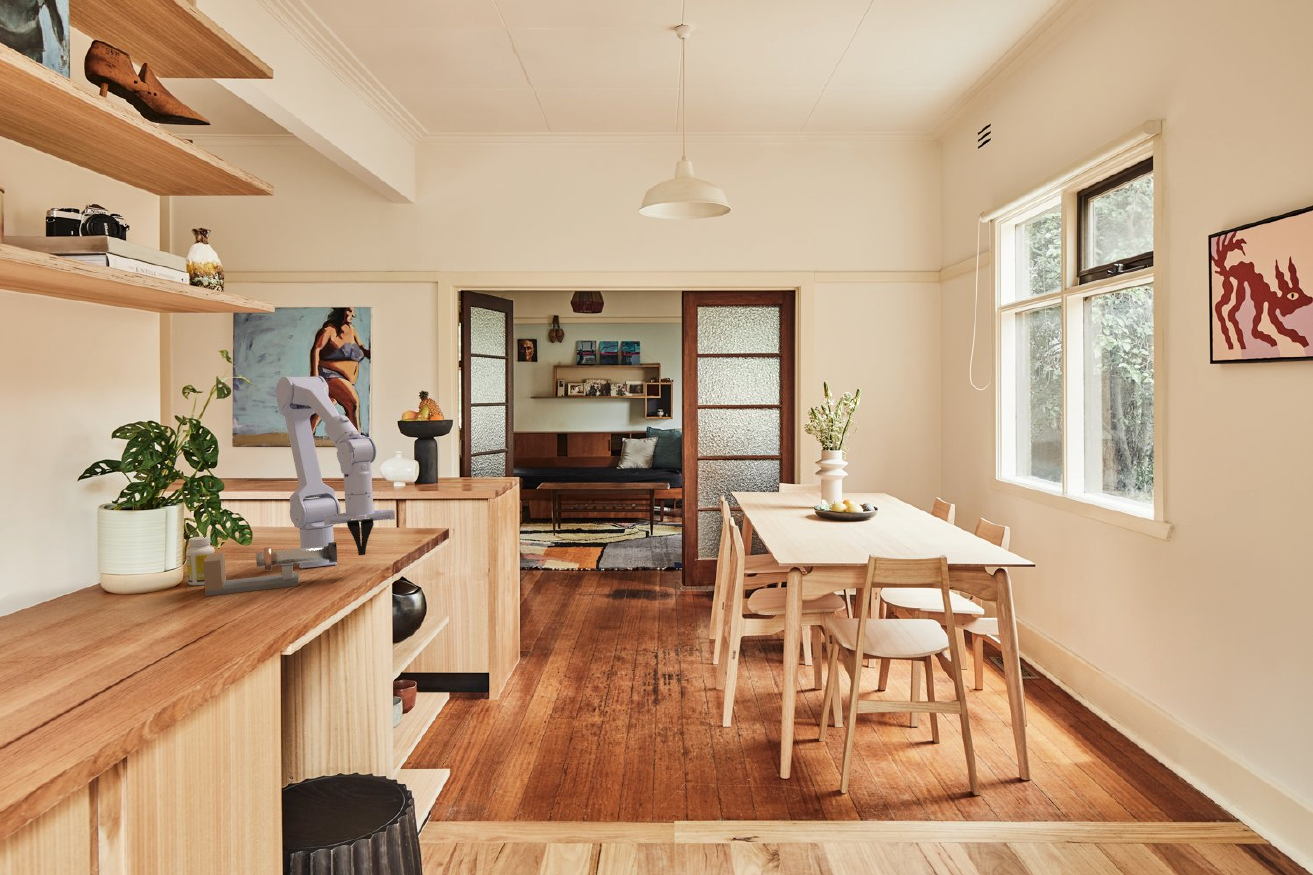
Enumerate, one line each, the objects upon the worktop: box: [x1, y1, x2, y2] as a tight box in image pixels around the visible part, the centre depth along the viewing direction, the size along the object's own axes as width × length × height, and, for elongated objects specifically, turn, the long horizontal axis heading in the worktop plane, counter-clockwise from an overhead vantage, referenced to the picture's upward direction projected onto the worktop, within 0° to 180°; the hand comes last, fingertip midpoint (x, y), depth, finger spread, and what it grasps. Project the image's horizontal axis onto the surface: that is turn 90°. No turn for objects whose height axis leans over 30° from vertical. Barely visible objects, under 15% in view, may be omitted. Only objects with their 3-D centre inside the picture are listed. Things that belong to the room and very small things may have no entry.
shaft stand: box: [203, 552, 300, 597], centre depth 166 cm, size 8×17×7 cm, turn 113°
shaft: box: [255, 541, 338, 572], centre depth 169 cm, size 5×16×5 cm, turn 113°
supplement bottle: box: [185, 535, 216, 586], centre depth 170 cm, size 5×5×10 cm
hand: (361, 554), depth 175 cm, fingers closed
